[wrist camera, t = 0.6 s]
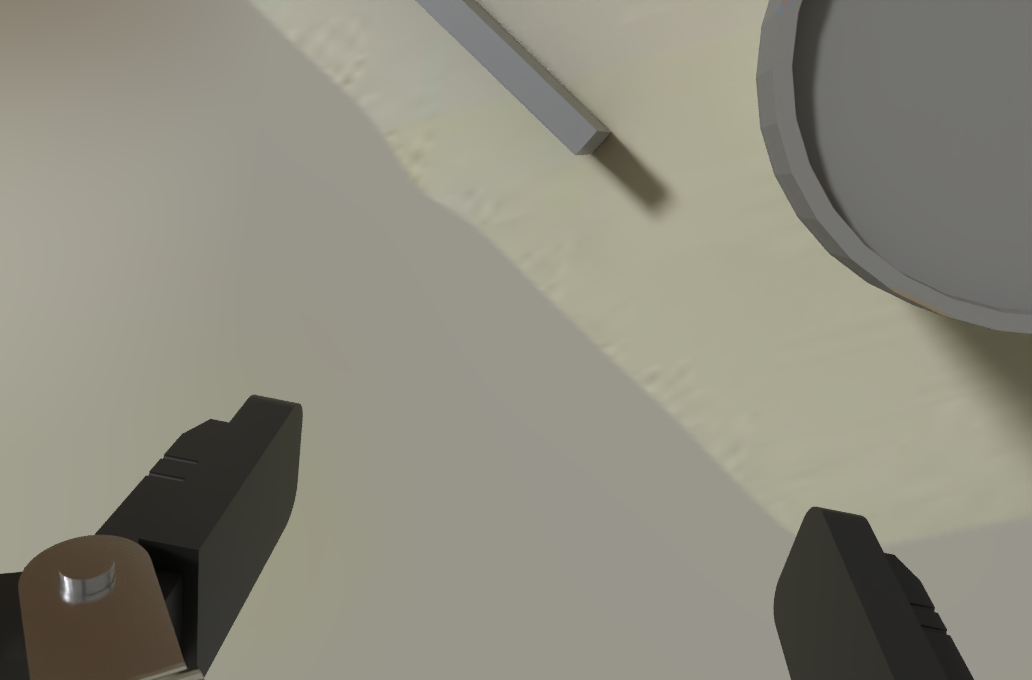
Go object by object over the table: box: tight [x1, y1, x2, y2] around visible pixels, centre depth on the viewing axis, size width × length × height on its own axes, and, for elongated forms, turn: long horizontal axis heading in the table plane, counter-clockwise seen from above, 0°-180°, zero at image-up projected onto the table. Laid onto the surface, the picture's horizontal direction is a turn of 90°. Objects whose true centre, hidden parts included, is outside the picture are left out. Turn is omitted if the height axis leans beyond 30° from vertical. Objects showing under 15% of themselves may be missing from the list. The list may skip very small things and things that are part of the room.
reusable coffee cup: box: [756, 0, 1032, 334], centre depth 23 cm, size 13×13×15 cm
